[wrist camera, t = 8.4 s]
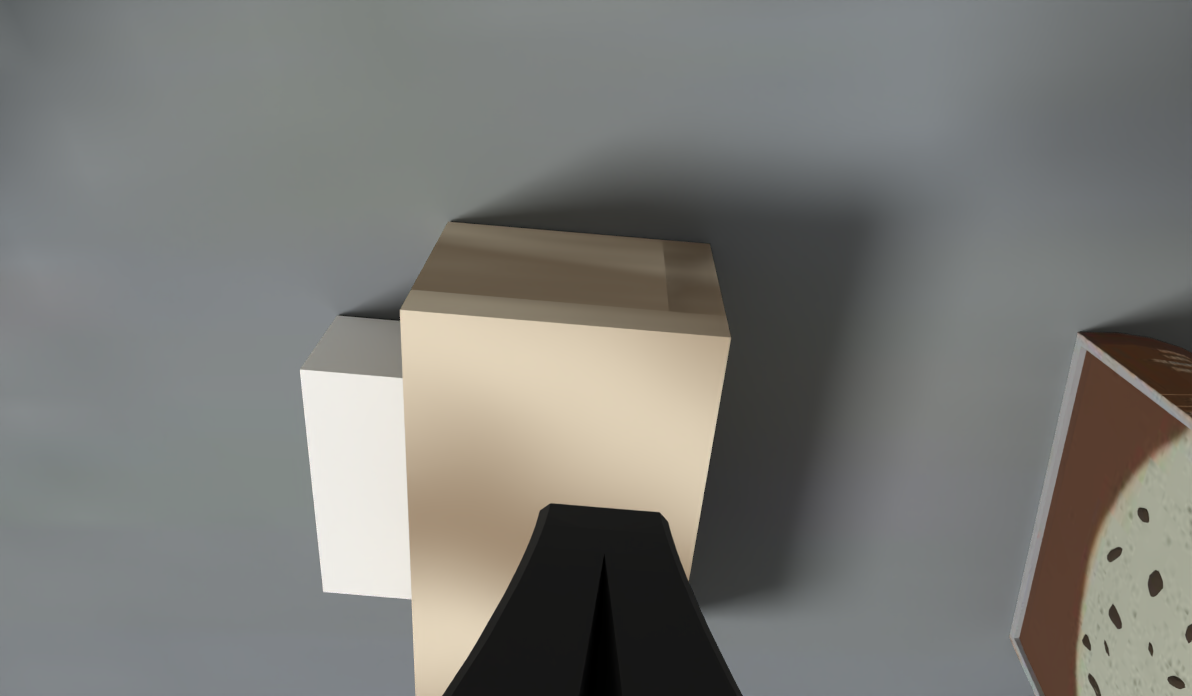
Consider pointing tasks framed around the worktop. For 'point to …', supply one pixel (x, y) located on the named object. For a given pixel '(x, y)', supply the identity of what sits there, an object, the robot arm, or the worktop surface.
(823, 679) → the worktop surface
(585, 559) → the robot arm
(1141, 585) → the food container
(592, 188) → the worktop surface
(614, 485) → the overhang shelf
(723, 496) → the worktop surface
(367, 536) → the cover
